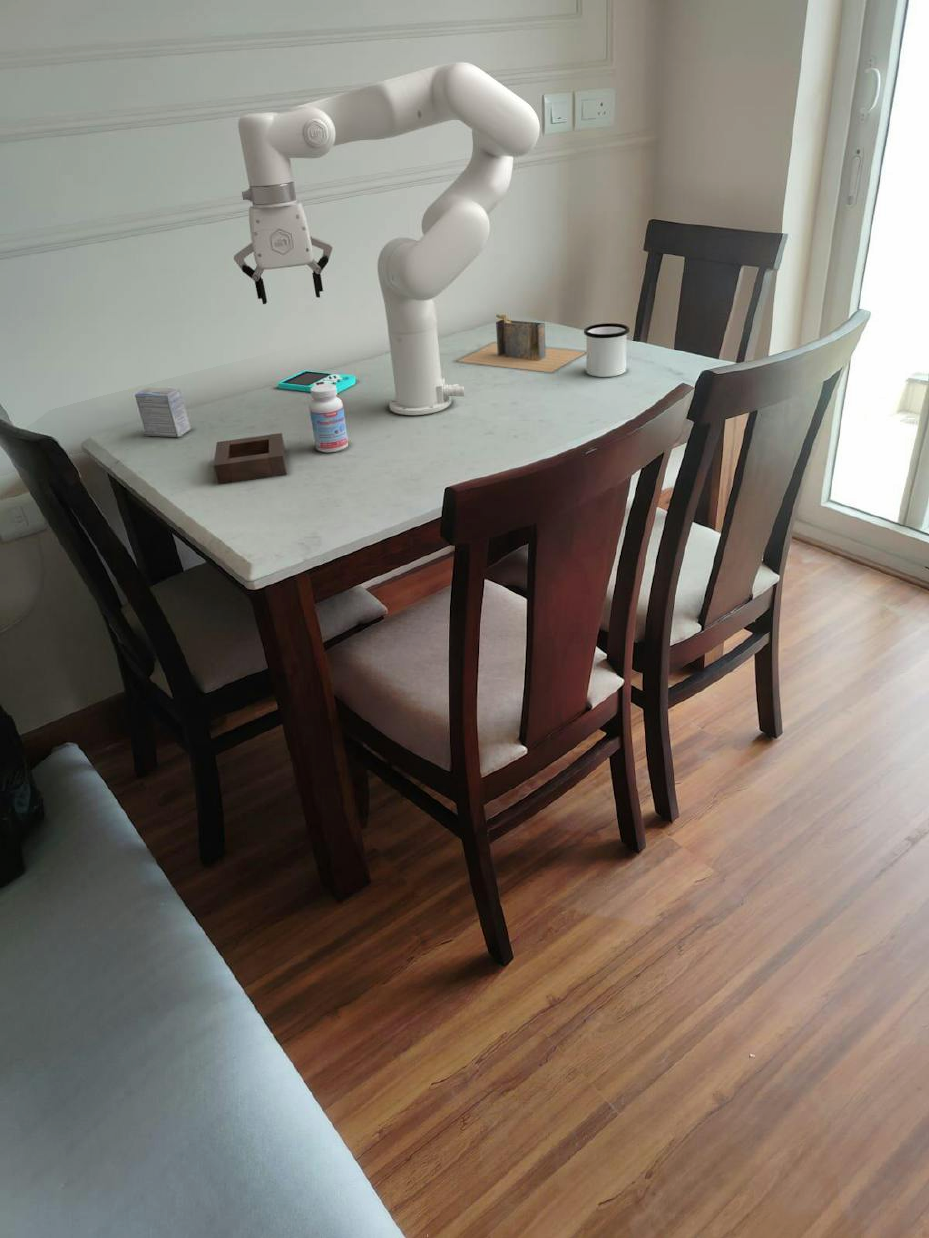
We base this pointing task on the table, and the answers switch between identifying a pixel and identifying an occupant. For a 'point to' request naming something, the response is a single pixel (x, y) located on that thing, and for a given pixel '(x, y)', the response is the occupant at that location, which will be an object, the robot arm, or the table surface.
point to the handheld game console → (316, 381)
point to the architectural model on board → (521, 348)
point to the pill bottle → (328, 419)
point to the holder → (250, 458)
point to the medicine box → (162, 412)
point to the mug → (606, 349)
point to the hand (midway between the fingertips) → (291, 299)
